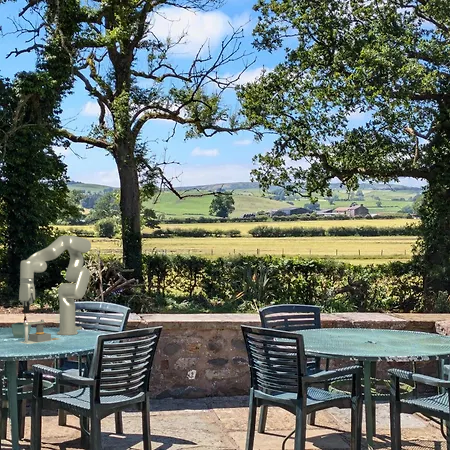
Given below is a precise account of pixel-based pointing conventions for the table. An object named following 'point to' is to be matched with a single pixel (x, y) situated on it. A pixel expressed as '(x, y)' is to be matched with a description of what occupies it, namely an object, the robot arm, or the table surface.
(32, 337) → the socket plate
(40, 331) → the plug
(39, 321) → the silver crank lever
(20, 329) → the flower pot
